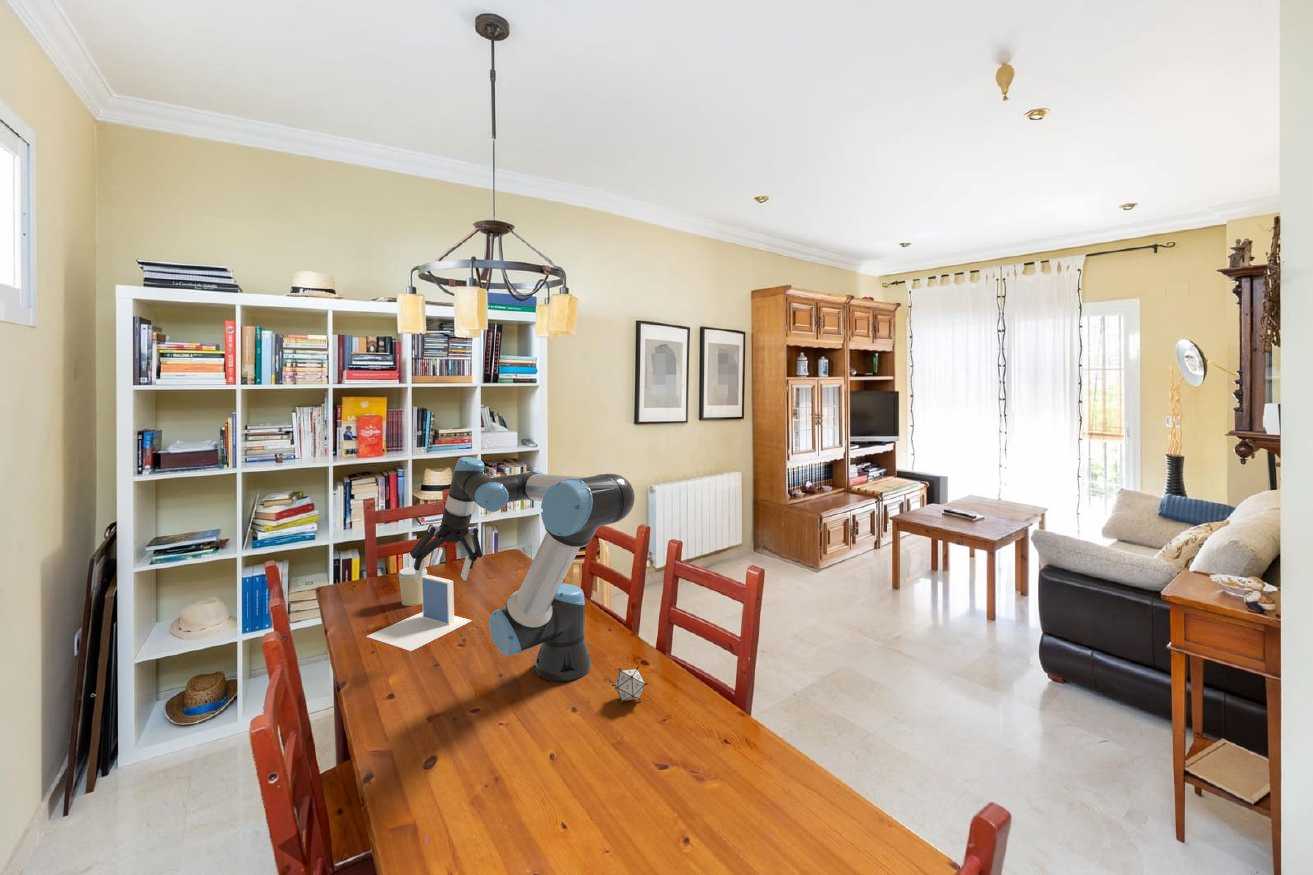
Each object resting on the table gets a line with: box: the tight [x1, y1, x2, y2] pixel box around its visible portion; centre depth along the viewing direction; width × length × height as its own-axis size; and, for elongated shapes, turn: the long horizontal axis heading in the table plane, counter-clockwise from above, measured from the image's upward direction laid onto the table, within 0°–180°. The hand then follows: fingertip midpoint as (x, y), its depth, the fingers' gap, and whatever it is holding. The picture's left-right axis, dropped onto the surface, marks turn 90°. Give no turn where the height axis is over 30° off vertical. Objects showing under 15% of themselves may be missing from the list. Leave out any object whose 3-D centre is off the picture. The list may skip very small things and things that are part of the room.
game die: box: [611, 665, 649, 704], centre depth 142 cm, size 9×8×10 cm
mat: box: [365, 611, 473, 652], centre depth 180 cm, size 20×24×1 cm
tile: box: [421, 574, 455, 625], centre depth 186 cm, size 12×2×14 cm, turn 63°
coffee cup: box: [398, 566, 428, 607], centre depth 201 cm, size 9×9×12 cm
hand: (440, 579), depth 164 cm, fingers open, 13 cm apart
